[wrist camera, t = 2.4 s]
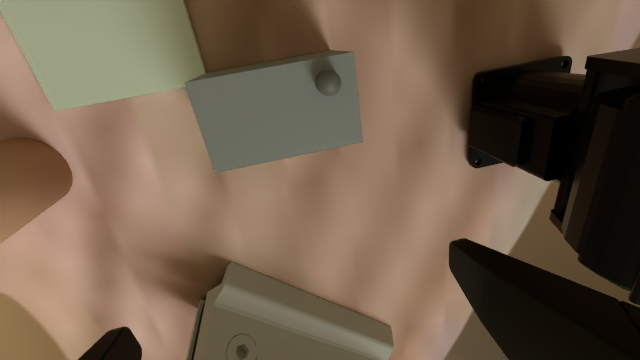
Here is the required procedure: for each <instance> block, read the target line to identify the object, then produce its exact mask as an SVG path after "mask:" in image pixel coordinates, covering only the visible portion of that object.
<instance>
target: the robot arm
mask: <svg viewBox="0 0 640 360" xmlns="http://www.w3.org/2000/svg"><path fill="white" fill-rule="evenodd" d="M562 62H563V65H562V66H561V64H562ZM571 66H572V59H571V57H569V56H557V57H552V58H547V59H542V60H537V61H532V62H527V63H522V64H517V65H511V66H506V67H501V68H496V69H491V70H486V71H481V72H478V73H477V74H476V75H475V77H474V79H473V89H472V107H471V110H470V126H469V160H468V162H469V164H470V166H472V167H474V168H481V167H485V166H490V165H494V164H499V163H503V162H504V163H506V164H508V165H510V166H512V167H518V168H520V169H522V170H524V171H526V172H528V173H530V174H532V175H534V176H536V177H539V178H541V179H543V180H545V181H551V180H553V181H556V182H557V183H559V184H560V185H559V189H558V193H557V197H556V201H555V205H554V209H552V210H551V213H550V218H549V219H550V220H551V221H552V223H553V224H554V225H555V226H556V227H557V228H558V229H559V231H560V232H561V233H562V234H563V236H564V239H565V240H566V241H567V242H568V243H569V244H570V246H571V247H572V248H573V249H574V250H575V251H576V252H577V253H578V257H577V259H578V261H579V262H580V263H581V264H582V265H583V266H585V267H587V268H588V269H589V270H591V271H592V272H594V273H595V274H597V275H598V276H600V277H602V278H604V279H606V280H608V281H610V282H611V283H613V284H615V285H617V286H619V287H621V288H623V289H626V290H628V291H631V292H630V294H629V297H628V298H629V300H630V301H631V302H633V303H635V304H638V305H640V48H636V49H629V50H623V51H616V52H610V53H603V54H597V55H591V56H587V60H586V64H585V69H587V72H586V75H583V74H572V73H570V71H571ZM482 77H484V81H483V82H482V83H481V79H482ZM477 159H478V161H477V162H476V163H475V161H476V160H477ZM449 267H450V270H451V272H452V274H453V275H454V277H455V279H456V280H457V282H458V284H459V286H460V287H461V289H462V291H463V292H464V294H465V296H466V298H467V299H468V301H469V303H470V304H471V306H472V308H473V309H474V311H475V313H476V314H477V316H478V317H479V319H480V321H481V322H482V323H483V325H484V326H485V328H486V329H487V331H488V332H489V333H490V335H491V336H492V337H493V339H494V340H495V342H496V343H497V344H498V346H499V347H500V348H501V350H502V351H503V353H504V354H505V355H506V357H507V358H508V359H509V360H640V308H639V307H636V306H634V305H631V304H629V303H626V302H624V301H618V299H616V298H613V297H611V296H608V295H606V294H603V293H601V292H598V291H596V290H593V289H591V288H588V287H586V286H583V285H581V284H578V283H576V282H573V281H571V280H568V279H566V278H563V277H561V276H558V275H556V274H553V273H550V272H548V271H546V270H543V269H541V268H538V267H536V266H533V265H531V264H528V263H526V262H523V261H521V260H518V259H516V258H513V257H510V256H508V255H506V254H503V253H501V252H498V251H496V250H493V249H491V248H488V247H486V246H483V245H481V244H478V243H476V242H473V241H470V240H468V239H465V238H462V239H458V240H454V241H451V242H450V244H449ZM141 357H142V349H141V346H140V344H139V342H138V341H137V339H136V338H135V336H134V335H133V333H132V332H131V330H130V329H129V328H128V327H120V328H116V329H112V330H110V331H108V332H107V333H106V334H105V335H103V336H102V337H101V338H100V339H99V340H98V341H97V342H96V343H95V344H94V345H93V346H92V347H91V348H90V349H89V350H88V351H86V352H85V353H84V354H83V355H82V356H81V357H80V358H79V359H78V360H141Z"/></svg>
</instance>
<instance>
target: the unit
mask: <svg viewBox="0 0 640 360" xmlns="http://www.w3.org/2000/svg"><path fill="white" fill-rule="evenodd" d="M185 86H186V89H187V92H188V95H189V98H190V101H191V104H192V107H193V110H194V113H195V116H196V119H197V122H198V124H199V127H200V130H201V133H202V136H203V139H204V142H205V145H206V148H207V151H208V154H209V157H210V160H211V163H212V166H213V169H214V172H215V173H218V172H223V171H227V170H232V169H237V168H242V167H247V166H251V165H256V164H261V163H266V162H271V161H275V160H280V159H285V158H290V157H294V156H299V155H304V154H309V153H314V152H318V151H323V150H328V149H333V148H337V147H342V146H347V145H352V144H357V143H361V142H363V138H362V128H361V119H360V109H359V99H358V89H357V80H356V70H355V60H354V52H350V51H334V50H329V51H324V52H318V53H312V54H307V55H301V56H296V57H290V58H285V59H279V60H274V61H268V62H263V63H257V64H252V65H246V66H241V67H235V68H230V69H224V70H219V71H213V72H208V73H205V74H203V75H200V76H198V77H196V78H194V79H192V80H189V81H187V82H185Z"/></svg>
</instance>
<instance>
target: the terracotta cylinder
mask: <svg viewBox="0 0 640 360" xmlns="http://www.w3.org/2000/svg"><path fill="white" fill-rule="evenodd" d="M71 186H72V172H71V169H70V167H69V165H68V163H67V162H66V160H65V159H64V158H63V157H62V156H61V155H60V154H59V153H58V152H57V151H56V150H54V149H53V148H51V147H50V146H48V145H46V144H44V143H41V142H39V141H36V140H32V139H27V138H13V139H8V140H5V141H2V142H0V244H1V243H2V242H4V241H5V240H6V239H8V238H9V237H10V236H12V235H13V234H14V233H16V232H17V231H18V230H20V229H21V228H22V227H24V226H25V225H26V224H28V223H29V222H30V221H32V220H33V219H34V218H36V217H37V216H38V215H40V214H41V213H42V212H44V211H45V210H47V209H48V208H49V207H51V206H52V205H53V204H55V203H56V202H57V201H59V200H60V199H61V198H63V197H64V196H65V195H66V194H67V193H68V192H69V190H70V188H71Z"/></svg>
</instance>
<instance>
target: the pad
mask: <svg viewBox="0 0 640 360" xmlns="http://www.w3.org/2000/svg"><path fill="white" fill-rule="evenodd" d="M0 12H1V14H2V16H3V17H4V19H5V21H6V23H7V25H8V27H9V28H10V30H11V32H12V34H13V36H14V38H15V40H16V41H17V43H18V45H19V47H20V49H21V51H22V53H23V54H24V56H25V58H26V60H27V62H28V64H29V66H30V67H31V69H32V71H33V73H34V75H35V77H36V79H37V80H38V82H39V84H40V86H41V88H42V90H43V91H44V93H45V95H46V97H47V99H48V101H49V103H50V104H51V106H52V108H53V110H54V111H58V110H64V109H69V108H75V107H80V106H85V105H91V104H96V103H102V102H107V101H113V100H118V99H123V98H129V97H134V96H140V95H145V94H151V93H156V92H161V91H167V90H172V89H178V88H183V87H186V86H185V82H187V81H189V80H192V79H194V78H196V77H198V76H200V75H203V74H205V73H206V69H205V66H204V63H203V60H202V56H201V53H200V50H199V46H198V43H197V40H196V37H195V33H194V30H193V27H192V24H191V20H190V17H189V14H188V10H187V7H186V4H185V1H184V0H0Z"/></svg>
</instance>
